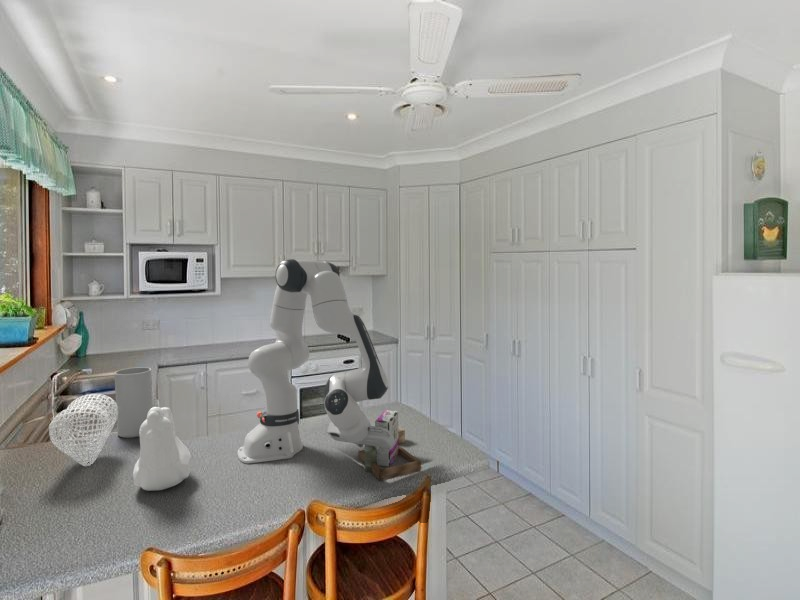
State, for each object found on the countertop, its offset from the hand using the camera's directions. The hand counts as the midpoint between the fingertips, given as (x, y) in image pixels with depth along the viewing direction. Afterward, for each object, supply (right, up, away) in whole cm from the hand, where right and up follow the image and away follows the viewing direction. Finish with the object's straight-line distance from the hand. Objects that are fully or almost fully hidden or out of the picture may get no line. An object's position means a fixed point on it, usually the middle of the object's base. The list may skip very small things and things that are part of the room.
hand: (369, 445), depth 147 cm
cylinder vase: (-95, -6, +35) cm, 102 cm away
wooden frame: (+6, -8, +4) cm, 10 cm away
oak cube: (+9, -5, +20) cm, 22 cm away
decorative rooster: (-62, -9, -5) cm, 63 cm away
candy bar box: (+6, -8, +5) cm, 11 cm away
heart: (-94, -8, +5) cm, 94 cm away
